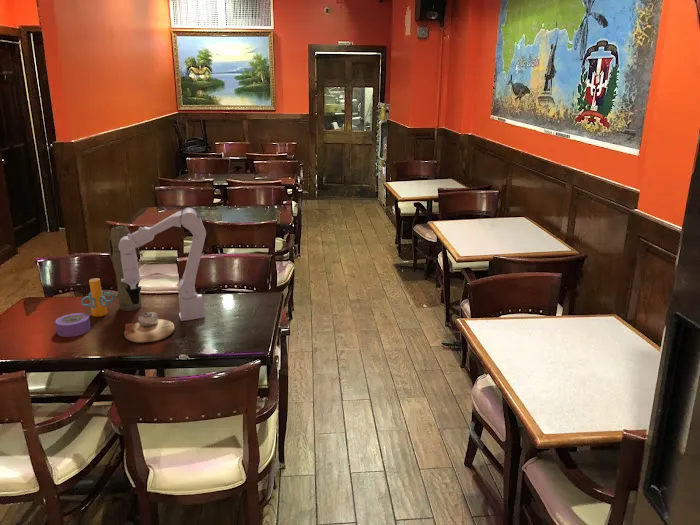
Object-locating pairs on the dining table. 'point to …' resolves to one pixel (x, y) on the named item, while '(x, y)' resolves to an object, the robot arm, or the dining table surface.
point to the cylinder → (97, 298)
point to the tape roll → (73, 324)
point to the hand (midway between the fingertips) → (135, 300)
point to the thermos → (120, 268)
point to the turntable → (149, 331)
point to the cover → (148, 319)
